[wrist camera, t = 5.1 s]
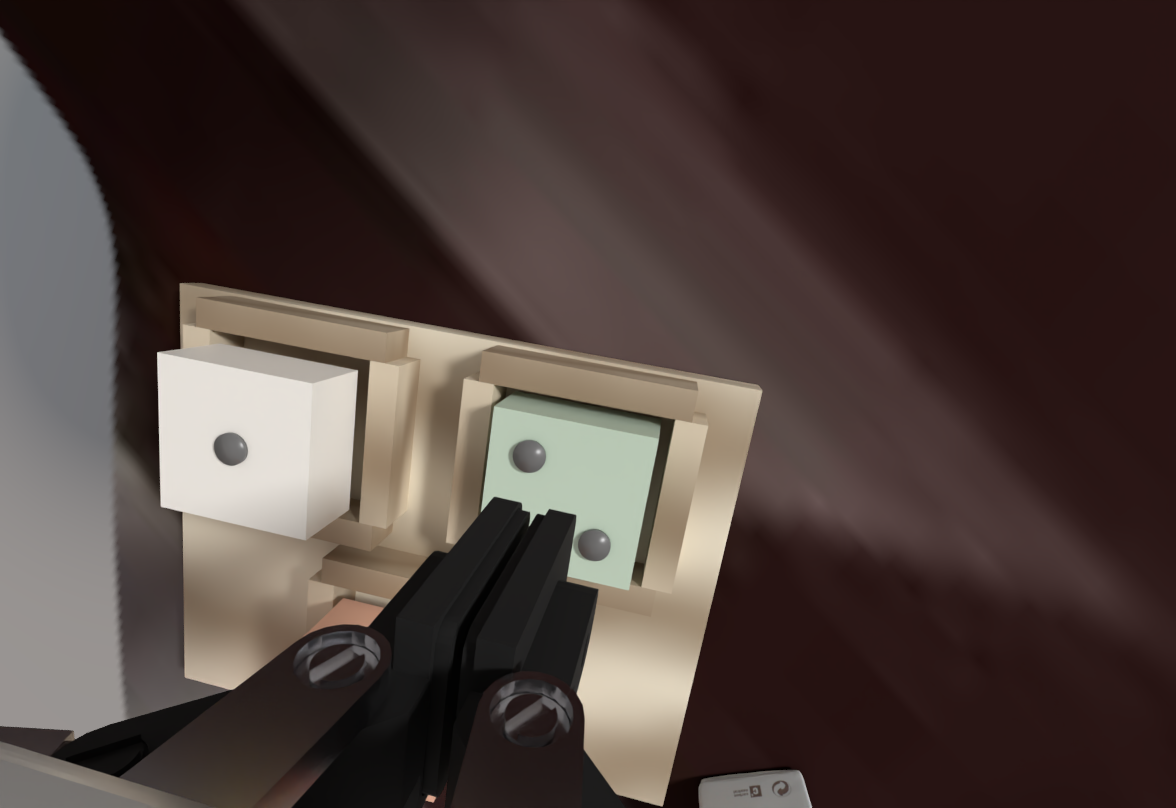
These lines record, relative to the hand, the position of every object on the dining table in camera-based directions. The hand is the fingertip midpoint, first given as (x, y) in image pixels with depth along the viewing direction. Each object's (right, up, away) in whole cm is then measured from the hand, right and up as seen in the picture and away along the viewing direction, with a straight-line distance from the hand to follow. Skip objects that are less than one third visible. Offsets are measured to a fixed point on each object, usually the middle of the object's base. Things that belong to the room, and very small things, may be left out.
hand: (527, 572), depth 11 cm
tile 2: (+1, +1, +9) cm, 9 cm away
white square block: (-9, +2, +8) cm, 13 cm away
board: (-5, -2, +11) cm, 12 cm away
